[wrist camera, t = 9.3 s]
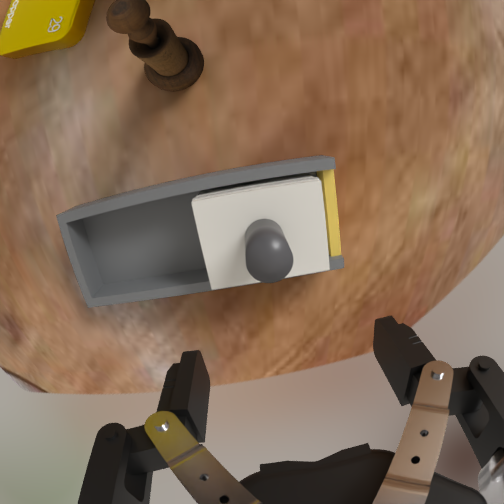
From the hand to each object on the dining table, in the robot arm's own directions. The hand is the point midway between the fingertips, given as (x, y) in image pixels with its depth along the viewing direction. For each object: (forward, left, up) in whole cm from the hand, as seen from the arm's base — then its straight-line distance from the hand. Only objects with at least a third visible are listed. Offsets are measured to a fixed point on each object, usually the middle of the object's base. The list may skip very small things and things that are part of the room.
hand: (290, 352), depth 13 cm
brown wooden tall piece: (-20, -6, -25) cm, 33 cm away
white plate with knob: (0, 0, -24) cm, 24 cm away
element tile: (-37, -23, -26) cm, 51 cm away
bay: (0, -7, -25) cm, 26 cm away
